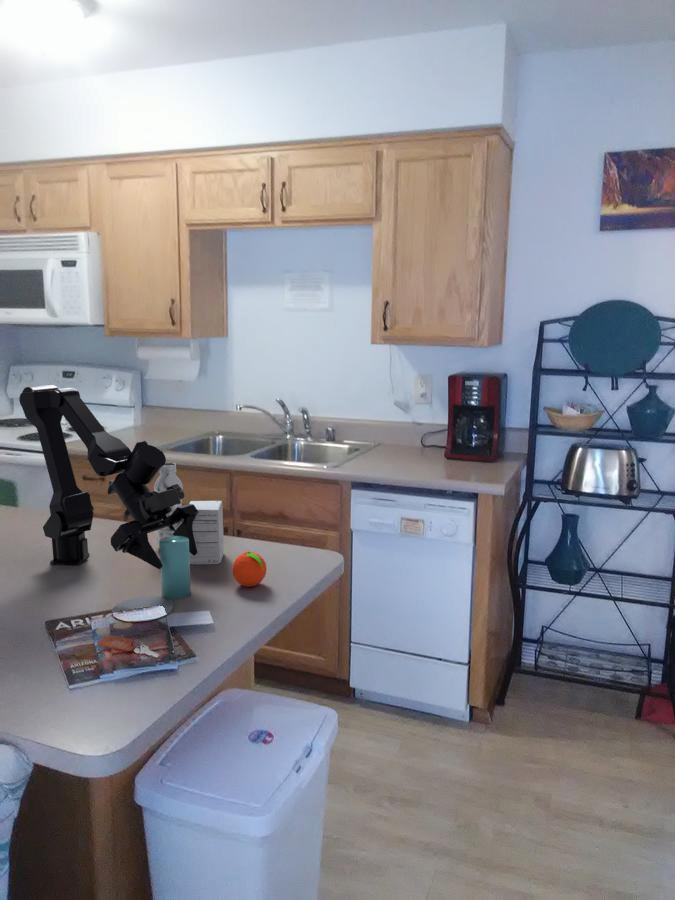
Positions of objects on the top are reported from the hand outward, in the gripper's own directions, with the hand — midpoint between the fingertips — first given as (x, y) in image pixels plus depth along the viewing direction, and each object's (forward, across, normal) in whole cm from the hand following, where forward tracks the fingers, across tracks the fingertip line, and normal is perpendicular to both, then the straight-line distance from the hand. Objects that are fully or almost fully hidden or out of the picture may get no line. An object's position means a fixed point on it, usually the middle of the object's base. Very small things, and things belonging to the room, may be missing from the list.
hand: (178, 560), depth 139 cm
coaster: (+4, -9, +5) cm, 11 cm away
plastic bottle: (-11, +19, +21) cm, 30 cm away
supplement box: (-2, +18, +12) cm, 22 cm away
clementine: (+11, +11, -1) cm, 16 cm away
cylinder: (+4, 0, +6) cm, 7 cm away
